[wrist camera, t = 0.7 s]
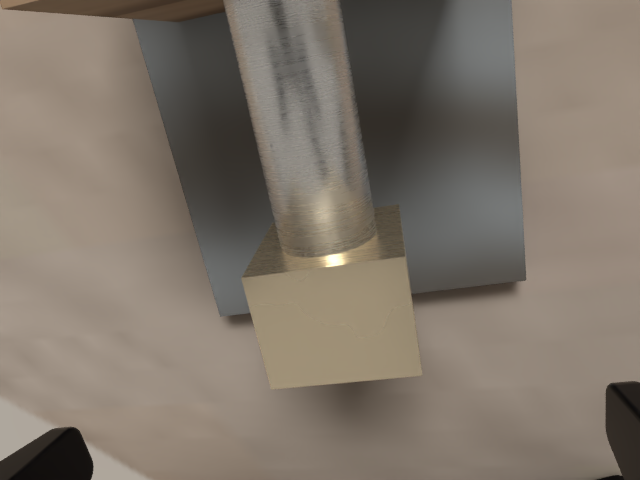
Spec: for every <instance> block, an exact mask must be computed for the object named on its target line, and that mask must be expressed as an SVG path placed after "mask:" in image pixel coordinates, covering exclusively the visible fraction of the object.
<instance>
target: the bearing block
mask: <svg viewBox="0 0 640 480" xmlns="http://www.w3.org/2000/svg"><path fill="white" fill-rule="evenodd" d="M0 4H1V7H2V9H8V10H21V11H35V12H48V13H62V14H75V15H88V16H102V17H115V18H128V19H133V22H134V25H135V28H136V32H137V35H138V39H139V42H140V45H141V49H142V52H143V56H144V59H145V62H146V66H147V69H148V73H149V76H150V79H151V83H152V86H153V90H154V93H155V96H156V100H157V103H158V107H159V110H160V113H161V117H162V120H163V124H164V127H165V130H166V134H167V137H168V141H169V144H170V147H171V151H172V154H173V158H174V161H175V164H176V168H177V171H178V175H179V178H180V181H181V185H182V188H183V192H184V195H185V198H186V202H187V205H188V209H189V212H190V215H191V219H192V222H193V226H194V229H195V232H196V236H197V239H198V243H199V246H200V249H201V253H202V256H203V260H204V263H205V266H206V270H207V273H208V277H209V280H210V283H211V287H212V290H213V294H214V297H215V300H216V304H217V307H218V311H219V314H220V317H221V316H230V315H238V314H247V313H250V309H249V305H248V302H247V298H246V294H245V291H244V287H243V283H242V280H241V277H242V276H243V274H244V272H245V270H246V269H247V267H248V265H249V263H250V262H251V260H252V258H253V256H254V255H255V253H256V251H257V249H258V247H259V246H260V244H261V242H262V240H263V239H264V237H265V235H266V233H267V232H268V230H269V228H270V226H271V225H272V223H275V220H274V216H273V212H272V207H271V203H270V199H269V195H268V190H267V186H266V182H265V177H264V173H263V169H262V165H261V160H260V156H259V152H258V148H257V143H256V139H255V135H254V130H253V126H252V122H251V118H250V113H249V109H248V105H247V101H246V96H245V92H244V88H243V83H242V79H241V75H240V71H239V66H238V62H237V58H236V54H235V49H234V45H233V41H232V37H231V32H230V28H229V24H228V19H227V15H226V11H225V7H224V2H223V0H0ZM340 4H341V10H342V16H343V22H344V29H345V35H346V41H347V47H348V54H349V60H350V66H351V72H352V78H353V85H354V91H355V97H356V103H357V110H358V116H359V122H360V128H361V134H362V141H363V147H364V153H365V159H366V166H367V172H368V178H369V184H370V190H371V197H372V203H373V208H376V207H383V206H390V205H397V204H399V209H400V216H401V223H402V230H403V237H404V244H405V251H406V258H407V265H408V272H409V279H410V286H411V294H415V293H424V292H432V291H440V290H449V289H457V288H466V287H474V286H483V285H491V284H500V283H508V282H516V281H525V280H526V267H525V248H524V229H523V210H522V191H521V172H520V154H519V135H518V116H517V97H516V78H515V59H514V41H513V22H512V3H511V0H340Z"/></svg>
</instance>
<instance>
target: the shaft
mask: <svg viewBox="0 0 640 480" xmlns="http://www.w3.org/2000/svg"><path fill="white" fill-rule="evenodd" d="M223 2H224V7H225V11H226V15H227V19H228V24H229V28H230V32H231V37H232V41H233V45H234V49H235V54H236V58H237V62H238V66H239V71H240V75H241V79H242V83H243V88H244V92H245V96H246V101H247V105H248V109H249V113H250V118H251V122H252V126H253V130H254V135H255V139H256V143H257V148H258V152H259V156H260V160H261V165H262V169H263V173H264V177H265V182H266V186H267V190H268V195H269V199H270V203H271V207H272V212H273V216H274V220H275V223H272V225H271V226H270V228H269V230H268V232H267V233H266V235H265V237H264V239H263V240H262V242H261V244H260V246H259V247H258V249H257V251H256V253H255V255H254V256H253V258H252V260H251V262H250V263H249V265H248V267H247V269H246V270H245V272H244V274H243V276H242V277H241V280H242V283H243V287H244V291H245V294H246V298H247V302H248V305H249V309H250V313H251V317H252V320H253V324H254V328H255V331H256V335H257V339H258V343H259V346H260V350H261V354H262V357H263V361H264V365H265V368H266V372H267V376H268V380H269V383H270V387H271V390H273V389H283V388H294V387H305V386H316V385H327V384H338V383H349V382H360V381H371V380H381V379H392V378H403V377H414V376H422V369H421V361H420V354H419V346H418V338H417V331H416V323H415V316H414V308H413V301H412V294H411V286H410V279H409V272H408V265H407V258H406V251H405V244H404V237H403V230H402V223H401V216H400V209H399V204H397V205H390V206H383V207H376V208H373V203H372V197H371V190H370V184H369V178H368V172H367V166H366V159H365V153H364V147H363V141H362V134H361V128H360V122H359V116H358V110H357V103H356V97H355V91H354V85H353V78H352V72H351V66H350V60H349V54H348V47H347V41H346V35H345V29H344V22H343V16H342V10H341V4H340V0H223Z"/></svg>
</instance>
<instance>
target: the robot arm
mask: <svg viewBox="0 0 640 480" xmlns="http://www.w3.org/2000/svg"><path fill="white" fill-rule="evenodd" d="M606 433H607V437H608V441H609V444H610V446H611V449H612V451H613V453H614V456H615V458H616V461H617V463H618V466H619V468H620V471H621V473H622V475H623V476H620V475H615V476H610V477H606V478H602V479H598V480H640V383H639V382H636V381H630V382H618V383H610V384H609V385H608V386H607V389H606ZM92 474H93V461H92V458H91V456H90V454H89V451H88V449H87V446H86V444H85V442H84V440H83V437H82V435H81V433H80V431H79V430H78V429H77V428H74V427H63V428H55V429H52V430H50V431H48V432H47V433H45V434H43V435H42V436H40V437H39V438H37V439H35V440H34V441H32V442H31V443H29V444H27V445H26V446H24V447H23V448H21V449H19V450H18V451H16V452H15V453H13V454H11V455H10V456H8V457H7V458H5V459H3V460H2V461H0V480H91V478H92Z"/></svg>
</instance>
